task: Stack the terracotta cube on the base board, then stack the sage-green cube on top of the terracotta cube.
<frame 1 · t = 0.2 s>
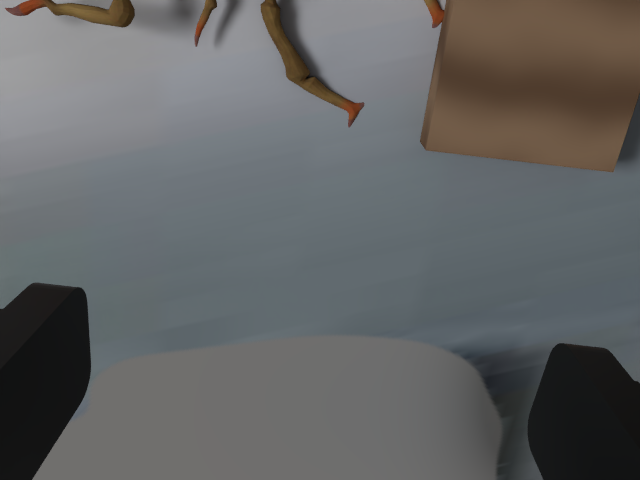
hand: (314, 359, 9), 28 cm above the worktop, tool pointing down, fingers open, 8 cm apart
base board: (527, 75, 35), on the worktop
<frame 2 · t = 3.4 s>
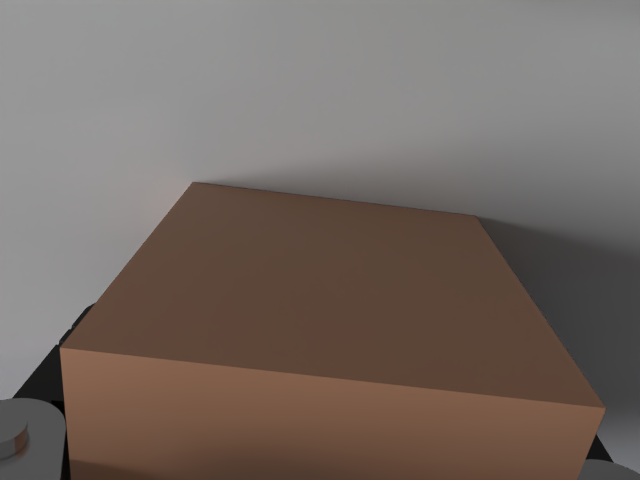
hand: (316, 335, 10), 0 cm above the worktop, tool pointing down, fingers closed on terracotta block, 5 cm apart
terracotta block: (318, 320, 10), on the worktop, touching gripper
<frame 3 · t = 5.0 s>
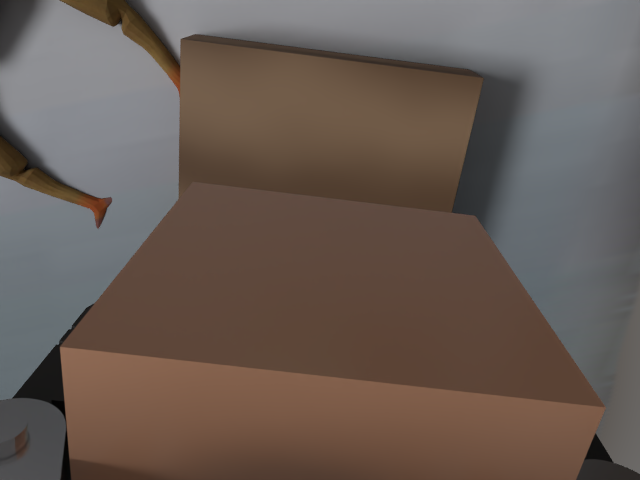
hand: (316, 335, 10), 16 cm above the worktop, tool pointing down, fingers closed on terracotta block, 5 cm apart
base board: (319, 162, 26), on the worktop
terracotta block: (318, 320, 11), point 16 cm above the worktop, touching gripper
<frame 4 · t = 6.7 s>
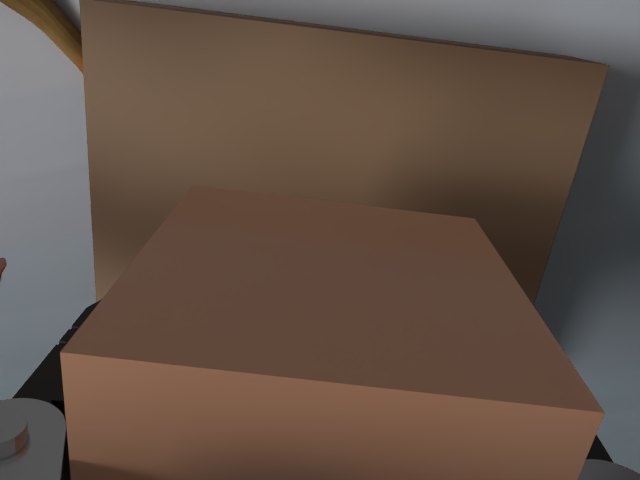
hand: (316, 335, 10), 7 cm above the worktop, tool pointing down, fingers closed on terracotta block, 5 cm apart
base board: (323, 203, 16), on the worktop
terracotta block: (318, 322, 11), point 7 cm above the worktop, touching gripper
when the fingers open (4 cm above the worktop, at t = 7.8 s): terracotta block stays where it is, resting on base board.
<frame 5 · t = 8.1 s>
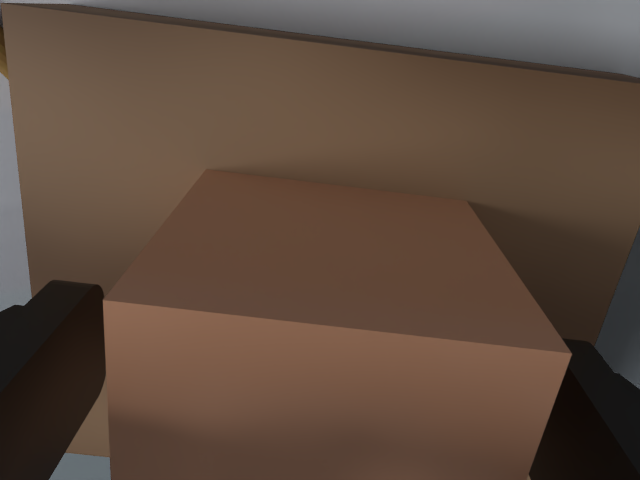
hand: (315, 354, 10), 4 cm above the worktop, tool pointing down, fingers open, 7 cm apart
base board: (320, 250, 14), on the worktop
terracotta block: (321, 299, 11), point 2 cm above the worktop, touching base board
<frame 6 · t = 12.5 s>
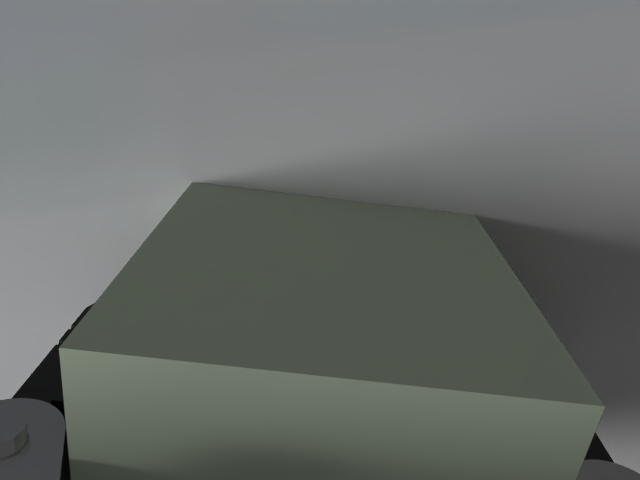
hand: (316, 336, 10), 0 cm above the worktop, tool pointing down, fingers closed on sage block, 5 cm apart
sage block: (318, 320, 11), on the worktop, touching gripper
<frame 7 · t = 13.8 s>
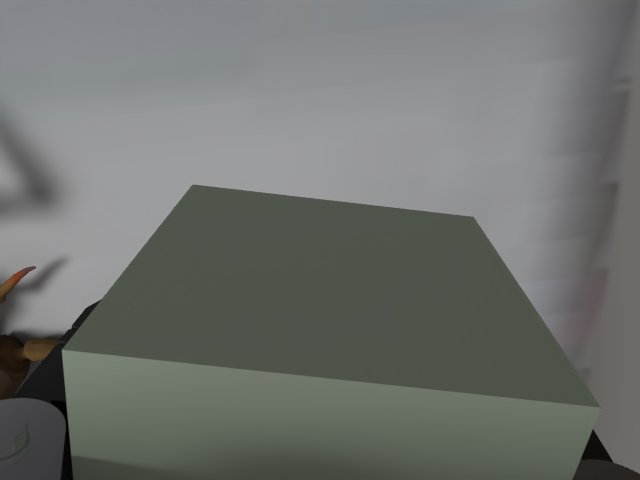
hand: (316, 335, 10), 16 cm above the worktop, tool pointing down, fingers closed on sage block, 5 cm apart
sage block: (318, 321, 11), point 15 cm above the worktop, touching gripper
when the fingers open (9 cm above the worktop, at t = 17.4 s): sage block stays where it is, resting on terracotta block.
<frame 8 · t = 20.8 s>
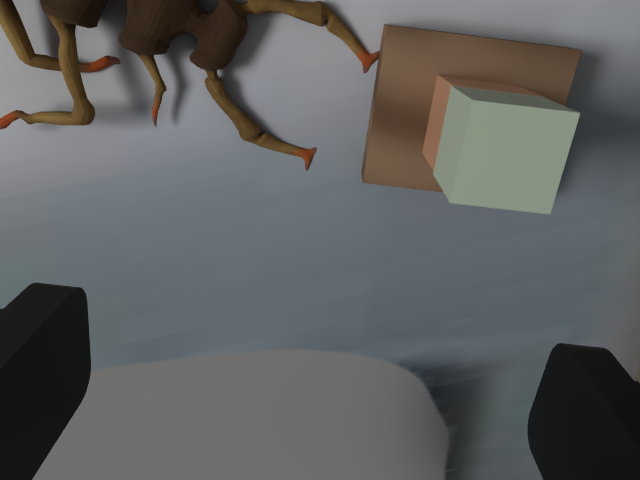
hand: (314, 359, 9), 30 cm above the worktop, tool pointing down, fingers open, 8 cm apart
base board: (458, 112, 37), on the worktop
terracotta block: (467, 119, 35), point 2 cm above the worktop, touching base board, sage block
sage block: (485, 136, 30), point 7 cm above the worktop, touching terracotta block
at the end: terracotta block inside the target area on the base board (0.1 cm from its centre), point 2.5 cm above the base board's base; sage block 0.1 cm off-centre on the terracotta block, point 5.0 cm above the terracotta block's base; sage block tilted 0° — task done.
